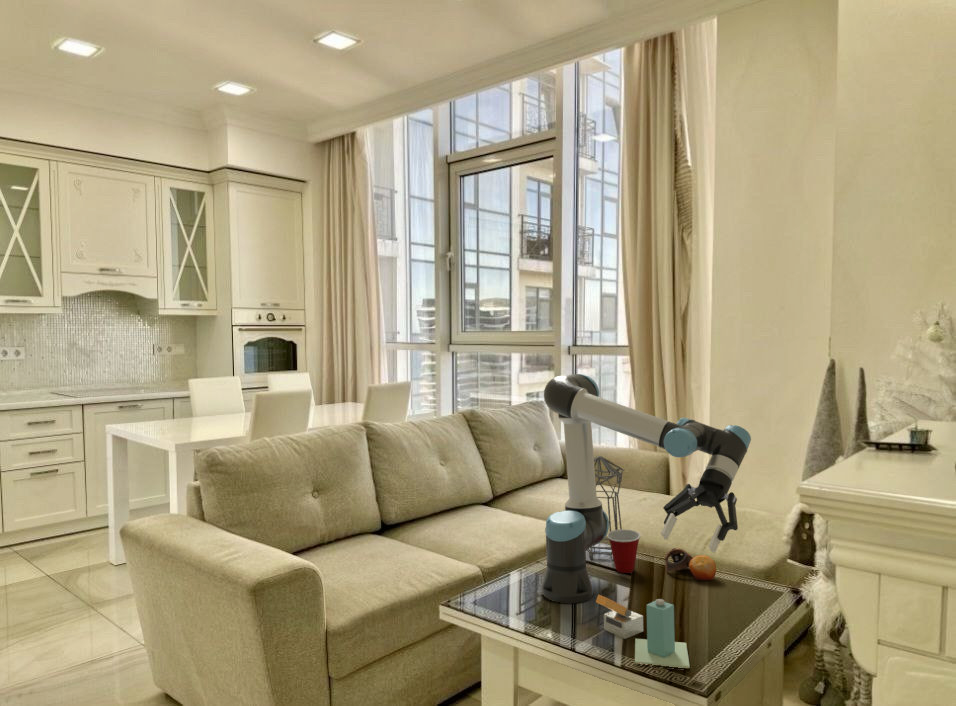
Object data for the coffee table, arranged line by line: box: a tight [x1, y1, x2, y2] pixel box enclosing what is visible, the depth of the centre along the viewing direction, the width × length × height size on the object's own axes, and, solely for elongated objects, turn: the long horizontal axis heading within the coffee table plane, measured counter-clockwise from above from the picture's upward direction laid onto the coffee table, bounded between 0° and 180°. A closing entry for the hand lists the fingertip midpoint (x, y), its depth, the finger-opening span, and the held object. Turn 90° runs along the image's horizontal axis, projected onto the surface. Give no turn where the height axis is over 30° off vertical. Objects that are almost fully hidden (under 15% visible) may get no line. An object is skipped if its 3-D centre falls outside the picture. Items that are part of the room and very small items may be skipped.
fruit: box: [688, 554, 717, 581], centre depth 203 cm, size 8×8×8 cm
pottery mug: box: [664, 547, 694, 573], centre depth 210 cm, size 12×9×8 cm
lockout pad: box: [634, 638, 691, 669], centre depth 153 cm, size 12×12×1 cm
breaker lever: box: [595, 594, 632, 617], centre depth 165 cm, size 2×4×10 cm
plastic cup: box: [606, 528, 641, 574], centre depth 212 cm, size 11×11×12 cm
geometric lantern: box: [586, 455, 625, 561], centre depth 227 cm, size 16×16×35 cm
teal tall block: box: [646, 598, 676, 657], centre depth 153 cm, size 4×4×12 cm
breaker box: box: [603, 610, 644, 640], centre depth 167 cm, size 7×7×4 cm
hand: (686, 543), depth 165 cm, fingers open, 13 cm apart
